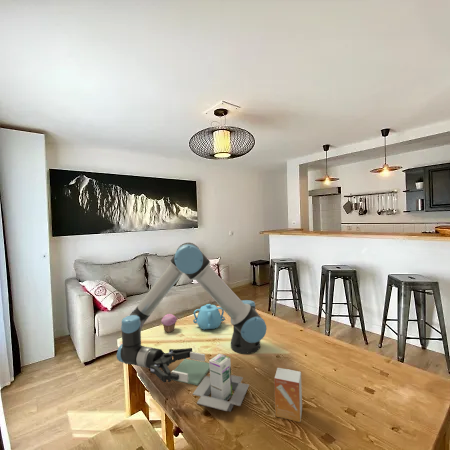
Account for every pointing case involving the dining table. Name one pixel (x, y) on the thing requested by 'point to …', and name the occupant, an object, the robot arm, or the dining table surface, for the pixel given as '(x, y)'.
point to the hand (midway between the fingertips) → (196, 367)
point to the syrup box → (220, 377)
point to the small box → (288, 394)
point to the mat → (193, 370)
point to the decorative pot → (208, 317)
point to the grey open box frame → (236, 399)
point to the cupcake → (169, 322)
